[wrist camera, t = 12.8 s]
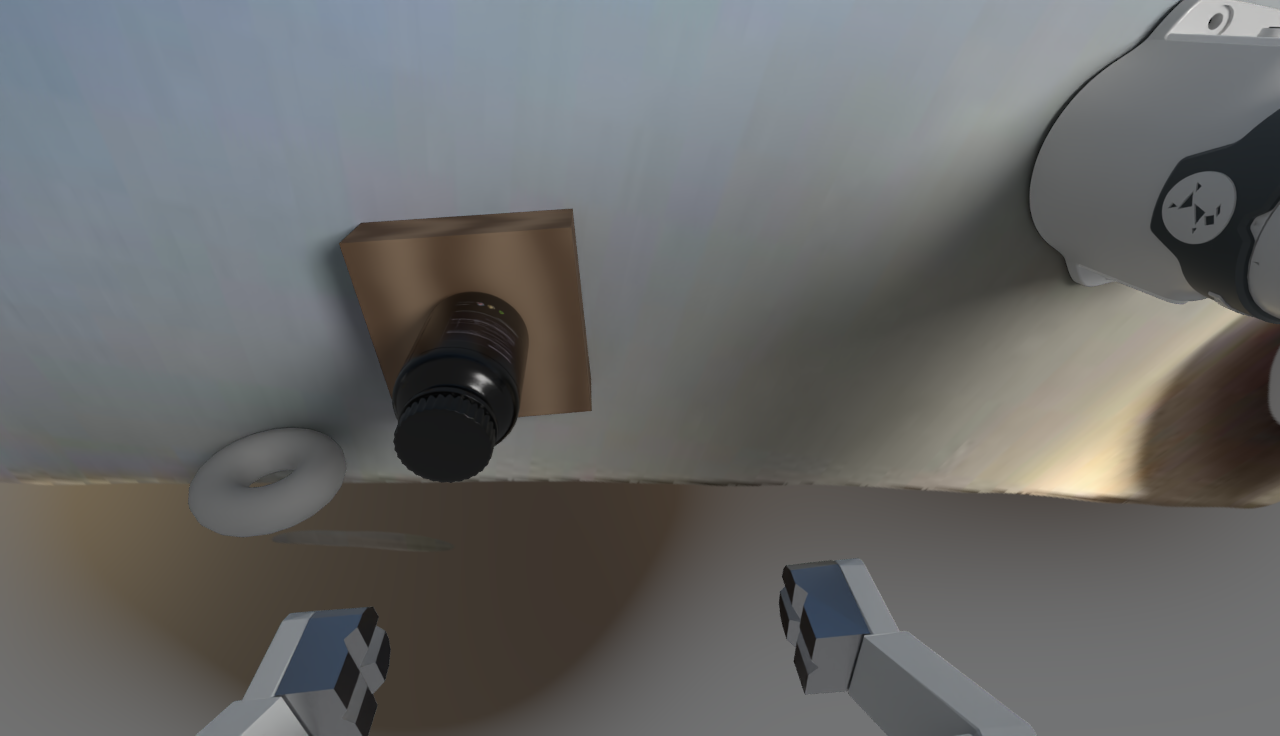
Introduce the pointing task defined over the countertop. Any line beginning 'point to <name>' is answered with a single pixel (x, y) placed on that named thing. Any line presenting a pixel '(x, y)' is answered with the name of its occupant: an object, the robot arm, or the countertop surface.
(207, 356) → the countertop surface
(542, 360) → the walnut base
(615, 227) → the countertop surface
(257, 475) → the donut
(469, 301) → the supplement bottle
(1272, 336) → the countertop surface
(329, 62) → the countertop surface
